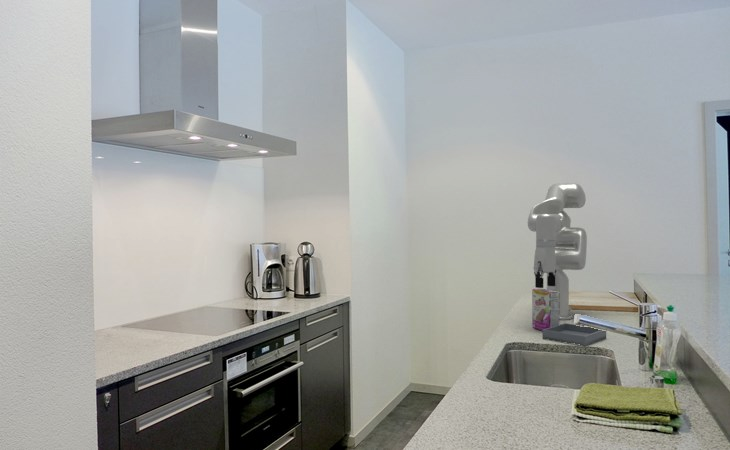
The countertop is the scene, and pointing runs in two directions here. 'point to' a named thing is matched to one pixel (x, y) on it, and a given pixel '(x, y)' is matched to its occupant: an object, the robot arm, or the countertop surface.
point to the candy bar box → (545, 309)
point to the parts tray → (574, 334)
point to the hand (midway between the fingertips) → (545, 286)
